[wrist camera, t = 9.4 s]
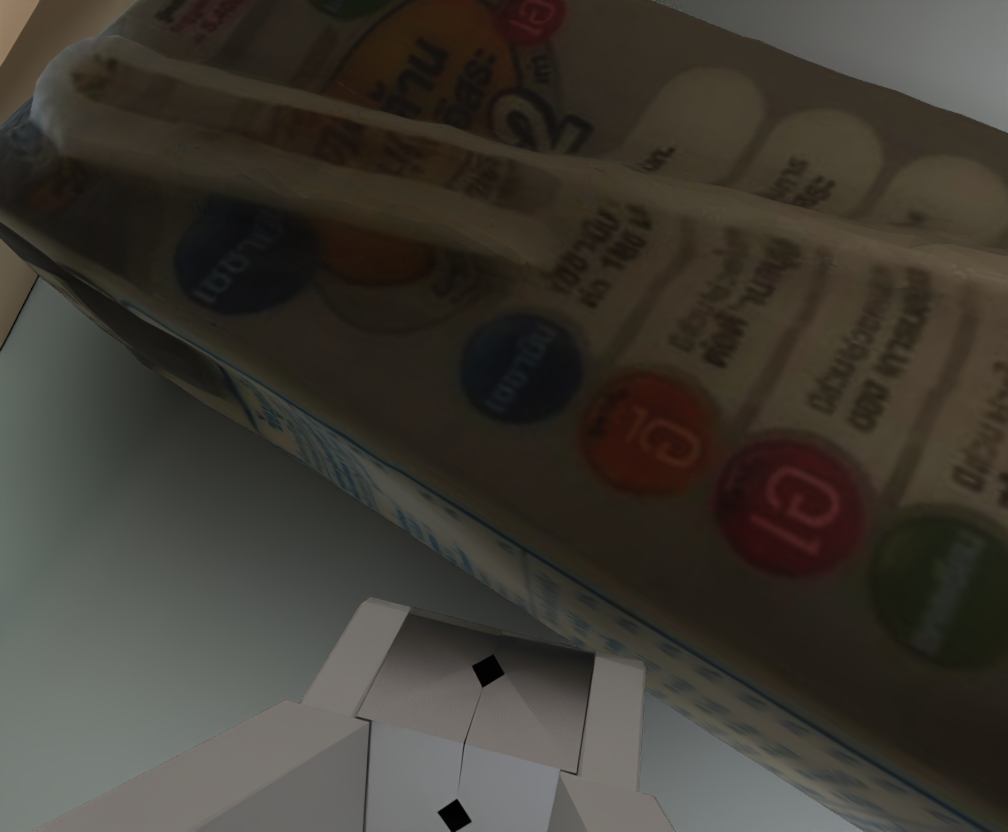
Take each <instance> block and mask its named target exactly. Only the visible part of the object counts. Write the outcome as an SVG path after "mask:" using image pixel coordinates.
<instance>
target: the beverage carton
mask: <svg viewBox="0 0 1008 832" xmlns="http://www.w3.org/2000/svg"><path fill="white" fill-rule="evenodd" d="M0 239H1V240H2V241H3V242H4V243H5V244H6V245H7V246H9V247H10V248H11V249H12V250H13V251H14V252H15V253H16V254H17V255H18V256H19V257H20V258H21V259H22V260H23V261H24V262H25V263H26V264H27V265H28V266H29V267H30V268H31V269H32V270H33V271H34V272H35V273H36V274H38V275H39V276H40V277H41V278H43V279H44V280H45V281H46V282H48V283H49V284H50V285H51V286H53V287H54V288H55V289H56V290H57V291H59V292H60V293H61V294H62V295H63V296H64V297H66V298H67V299H68V300H69V301H70V302H71V303H72V304H73V305H74V306H75V307H76V308H78V309H79V310H80V311H81V312H82V313H83V314H84V315H85V316H87V317H88V318H89V319H91V320H92V321H93V322H94V323H96V324H97V325H98V326H99V327H100V328H102V329H103V330H104V331H105V332H107V333H108V334H110V335H111V336H112V337H114V338H115V339H117V340H118V341H120V342H121V343H123V344H124V345H125V346H126V347H127V349H128V350H129V351H130V352H131V353H132V354H133V355H134V356H135V357H136V358H137V359H138V360H139V361H140V362H141V363H142V364H144V365H145V366H147V367H149V368H150V369H152V370H154V371H155V372H157V373H159V374H160V375H162V376H164V377H165V378H167V379H169V380H170V381H172V382H174V383H175V384H177V385H178V386H180V387H181V388H182V389H184V390H185V391H187V392H188V393H190V394H191V395H193V396H194V397H196V398H197V399H198V400H200V401H201V402H203V403H204V404H206V405H208V406H209V407H211V408H213V409H215V410H216V411H218V412H220V413H222V414H223V415H225V416H227V417H229V418H230V419H232V420H234V421H236V422H237V423H239V424H241V425H242V426H244V427H246V428H247V429H249V430H251V431H252V432H254V433H256V434H257V435H259V436H261V437H262V438H264V439H266V440H267V441H269V442H270V443H271V444H273V445H274V446H276V447H277V448H279V449H280V450H282V451H283V452H285V453H286V454H288V455H289V456H291V457H293V458H294V459H296V460H297V461H299V462H300V463H302V464H303V465H305V466H307V467H308V468H310V469H311V470H313V471H314V472H316V473H317V474H319V475H320V476H322V477H323V478H325V479H326V480H328V481H329V482H331V483H332V484H334V485H335V486H337V487H338V488H340V489H341V490H343V491H344V492H346V493H347V494H349V495H350V496H352V497H353V498H355V499H356V500H358V501H359V502H361V503H362V504H364V505H366V506H367V507H369V508H370V509H372V510H373V511H375V512H377V513H378V514H380V515H381V516H383V517H385V518H386V519H388V520H389V521H391V522H392V523H394V524H396V525H397V526H399V527H400V528H402V529H403V530H405V531H406V532H408V533H409V534H410V535H412V536H413V537H415V538H416V539H418V540H419V541H421V542H422V543H423V544H425V545H426V546H428V547H429V548H431V549H432V550H434V551H435V552H436V553H438V554H439V555H441V556H442V557H444V558H445V559H447V560H449V561H450V562H452V563H453V564H455V565H456V566H458V567H459V568H461V569H462V570H464V571H465V572H467V573H468V574H470V575H471V576H473V577H474V578H476V579H477V580H479V581H480V582H482V583H484V584H485V585H487V586H488V587H490V588H491V589H493V590H494V591H496V592H497V593H499V594H500V595H502V596H503V597H505V598H506V599H508V600H509V601H511V602H512V603H514V604H515V605H517V606H519V607H520V608H522V609H523V610H525V611H526V612H527V613H529V614H530V615H532V616H533V617H534V618H536V619H537V620H539V621H540V622H542V623H543V624H544V625H546V626H547V627H549V628H550V629H551V630H553V631H554V632H556V633H558V634H559V635H561V636H563V637H564V638H566V639H568V640H569V641H571V642H572V643H574V644H575V645H577V646H578V647H579V648H581V649H585V650H590V651H594V655H595V652H596V651H599V652H603V653H608V654H613V655H617V656H622V657H627V658H631V659H636V660H641V661H643V663H644V666H645V668H646V671H645V691H647V692H648V693H650V694H652V695H653V696H655V697H656V698H658V699H659V700H661V701H662V702H664V703H665V704H667V705H668V706H670V707H671V708H673V709H674V710H676V711H677V712H679V713H680V714H682V715H683V716H685V717H686V718H688V719H690V720H691V721H693V722H694V723H696V724H697V725H699V726H700V727H702V728H703V729H705V730H706V731H708V732H709V733H711V734H712V735H714V736H715V737H717V738H718V739H720V740H722V741H723V742H725V743H726V744H728V745H729V746H731V747H733V748H734V749H736V750H737V751H739V752H741V753H742V754H744V755H745V756H747V757H748V758H750V759H752V760H753V761H755V762H756V763H758V764H760V765H761V766H763V767H764V768H766V769H767V770H769V771H771V772H772V773H774V774H775V775H777V776H778V777H780V778H781V779H783V780H785V781H786V782H788V783H789V784H791V785H792V786H794V787H795V788H797V789H799V790H800V791H802V792H803V793H805V794H806V795H808V796H809V797H811V798H812V799H814V800H816V801H817V802H819V803H820V804H822V805H823V806H825V807H826V808H828V809H830V810H831V811H833V812H834V813H836V814H837V815H839V816H840V817H842V818H844V819H845V820H847V821H848V822H850V823H851V824H853V825H855V826H856V827H858V828H859V829H861V830H863V831H864V832H1008V133H1006V132H1004V131H1001V130H999V129H996V128H994V127H991V126H989V125H986V124H984V123H981V122H979V121H976V120H974V119H971V118H969V117H966V116H964V115H961V114H958V113H954V112H951V111H948V110H944V109H941V108H938V107H934V106H932V105H930V104H927V103H925V102H922V101H920V100H917V99H915V98H912V97H910V96H908V95H905V94H903V93H900V92H898V91H895V90H891V89H888V88H885V87H882V86H878V85H875V84H872V83H868V82H865V81H862V80H858V79H855V78H852V77H849V76H847V75H844V74H841V73H838V72H836V71H833V70H830V69H828V68H825V67H822V66H819V65H817V64H814V63H811V62H809V61H806V60H803V59H801V58H798V57H796V56H793V55H791V54H788V53H786V52H784V51H782V50H779V49H777V48H775V47H773V46H770V45H768V44H766V43H764V42H761V41H759V40H755V39H750V38H746V37H742V36H740V35H737V34H735V33H732V32H730V31H727V30H725V29H722V28H720V27H717V26H715V25H712V24H710V23H707V22H705V21H702V20H700V19H697V18H695V17H692V16H690V15H687V14H685V13H682V12H680V11H677V10H674V9H672V8H669V7H666V6H663V5H661V4H658V3H655V2H652V1H650V0H136V1H135V2H133V3H132V4H131V5H130V6H129V7H128V8H127V9H126V10H125V11H123V12H122V13H121V14H120V15H119V16H118V17H117V18H116V19H115V20H114V21H113V22H112V23H110V24H109V25H108V26H107V27H106V28H105V29H104V30H103V31H102V32H101V33H100V34H99V35H98V36H96V37H90V38H86V39H84V40H81V41H79V42H77V43H74V44H72V45H70V46H68V47H66V48H65V49H64V50H63V51H62V52H61V53H60V54H58V55H57V56H56V57H54V58H53V59H52V60H51V61H50V62H49V64H48V65H47V67H46V68H45V70H44V71H43V73H42V74H41V76H40V77H39V79H38V80H37V82H36V87H35V92H34V95H33V96H32V97H31V98H30V99H28V100H27V101H26V102H25V103H24V104H23V105H22V106H21V107H19V108H18V109H17V110H16V111H15V112H14V113H13V114H12V115H11V116H10V117H9V118H8V119H7V120H5V122H4V123H3V124H2V125H1V126H0Z"/></svg>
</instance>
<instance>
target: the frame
mask: <svg viewBox="0 0 1008 832" xmlns="http://www.w3.org/2000/svg"><path fill="white" fill-rule="evenodd" d="M135 1H136V0H0V126H1V125H2V124H3V123H4V122H5V120H7V119H8V118H9V117H10V116H11V115H12V114H13V113H14V112H15V111H16V110H17V109H18V108H19V107H21V106H22V105H23V104H24V103H25V102H26V101H27V100H28V99H30V98H31V97H32V96H33V95H34V92H35V87H36V82H37V80H38V79H39V77H40V76H41V74H42V73H43V71H44V70H45V68H46V67H47V65H48V64H49V62H50V61H51V60H52V59H53V58H54V57H56V56H57V55H58V54H60V53H61V52H62V51H63V50H64V49H65V48H66V47H68V46H70V45H72V44H74V43H77V42H79V41H81V40H84V39H86V38H90V37H96V36H98V35H99V34H100V33H101V32H102V31H103V30H104V29H105V28H106V27H107V26H108V25H109V24H110V23H112V22H113V21H114V20H115V19H116V18H117V17H118V16H119V15H120V14H121V13H122V12H123V11H125V10H126V9H127V8H128V7H129V6H130V5H131V4H132V3H133V2H135ZM37 276H38V274H36V273H35V272H34V271H33V270H32V269H31V268H30V267H29V266H28V265H27V264H26V263H25V262H24V261H23V260H22V259H21V258H20V257H19V256H18V255H17V254H16V253H15V252H14V251H13V250H12V249H11V248H10V247H9V246H7V245H6V244H5V243H4V242H3V241H2V240H1V239H0V348H1V346H2V344H3V342H4V341H5V339H6V337H7V335H8V333H9V331H10V329H11V327H12V325H13V323H14V321H15V319H16V317H17V315H18V313H19V311H20V309H21V307H22V305H23V303H24V301H25V299H26V297H27V295H28V293H29V292H30V290H31V288H32V286H33V284H34V282H35V280H36V278H37Z"/></svg>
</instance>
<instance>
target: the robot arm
mask: <svg viewBox="0 0 1008 832" xmlns="http://www.w3.org/2000/svg"><path fill="white" fill-rule="evenodd" d="M645 671H646V668H645V666H644V663H643V661H641V660H636V659H631V658H627V657H622V656H617V655H613V654H608V653H603V652H599V651H596V652H595V655H594V651H590V650H585V649H581V648H577V647H572V646H568V645H564V644H559V643H555V642H551V641H546V640H542V639H538V638H533V637H529V636H524V635H520V634H516V633H511V632H507V631H503V630H499V629H496V628H492V627H488V626H484V625H480V624H476V623H473V622H469V621H465V620H461V619H457V618H454V617H450V616H446V615H442V614H438V613H434V612H431V611H427V610H423V609H419V608H414V609H413V608H411V607H408V606H405V605H401V604H397V603H393V602H389V601H385V600H381V599H378V598H374V597H369V598H368V599H367V600H365V601H364V602H363V603H361V604H360V606H359V607H358V609H357V611H356V612H355V614H354V615H353V617H352V619H351V620H350V622H349V624H348V625H347V627H346V628H345V630H344V632H343V633H342V635H341V636H340V638H339V640H338V641H337V643H336V645H335V646H334V648H333V649H332V651H331V653H330V654H329V656H328V657H327V659H326V661H325V662H324V664H323V666H322V667H321V669H320V670H319V672H318V674H317V675H316V677H315V678H314V680H313V682H312V683H311V685H310V687H309V688H308V690H307V691H306V693H305V695H304V696H303V698H302V700H301V701H300V703H295V702H291V701H287V700H284V701H282V702H280V703H278V704H277V705H275V706H273V707H271V708H269V709H267V710H265V711H263V712H261V713H259V714H257V715H255V716H253V717H251V718H250V719H248V720H246V721H244V722H242V723H240V724H238V725H236V726H234V727H232V728H230V729H228V730H226V731H224V732H223V733H221V734H219V735H217V736H215V737H213V738H211V739H209V740H207V741H205V742H203V743H201V744H199V745H197V746H195V747H194V748H192V749H190V750H188V751H186V752H184V753H182V754H180V755H178V756H176V757H174V758H172V759H170V760H168V761H167V762H165V763H163V764H161V765H159V766H157V767H155V768H153V769H151V770H149V771H147V772H145V773H143V774H141V775H140V776H138V777H136V778H134V779H132V780H130V781H128V782H126V783H124V784H122V785H120V786H118V787H116V788H114V789H113V790H111V791H109V792H107V793H105V794H103V795H101V796H99V797H97V798H95V799H93V800H91V801H89V802H87V803H85V804H84V805H82V806H80V807H78V808H76V809H74V810H72V811H70V812H68V813H66V814H64V815H62V816H60V817H58V818H57V819H55V820H53V821H51V822H49V823H47V824H45V825H43V826H41V827H39V828H37V829H35V830H33V831H31V832H676V831H675V829H674V828H673V826H672V824H671V823H670V821H669V819H668V818H667V816H666V814H665V813H664V811H663V810H662V808H661V806H660V805H659V803H658V801H657V800H656V798H655V797H653V796H650V795H647V794H643V793H639V784H640V765H641V746H642V728H643V709H644V690H645Z"/></svg>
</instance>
